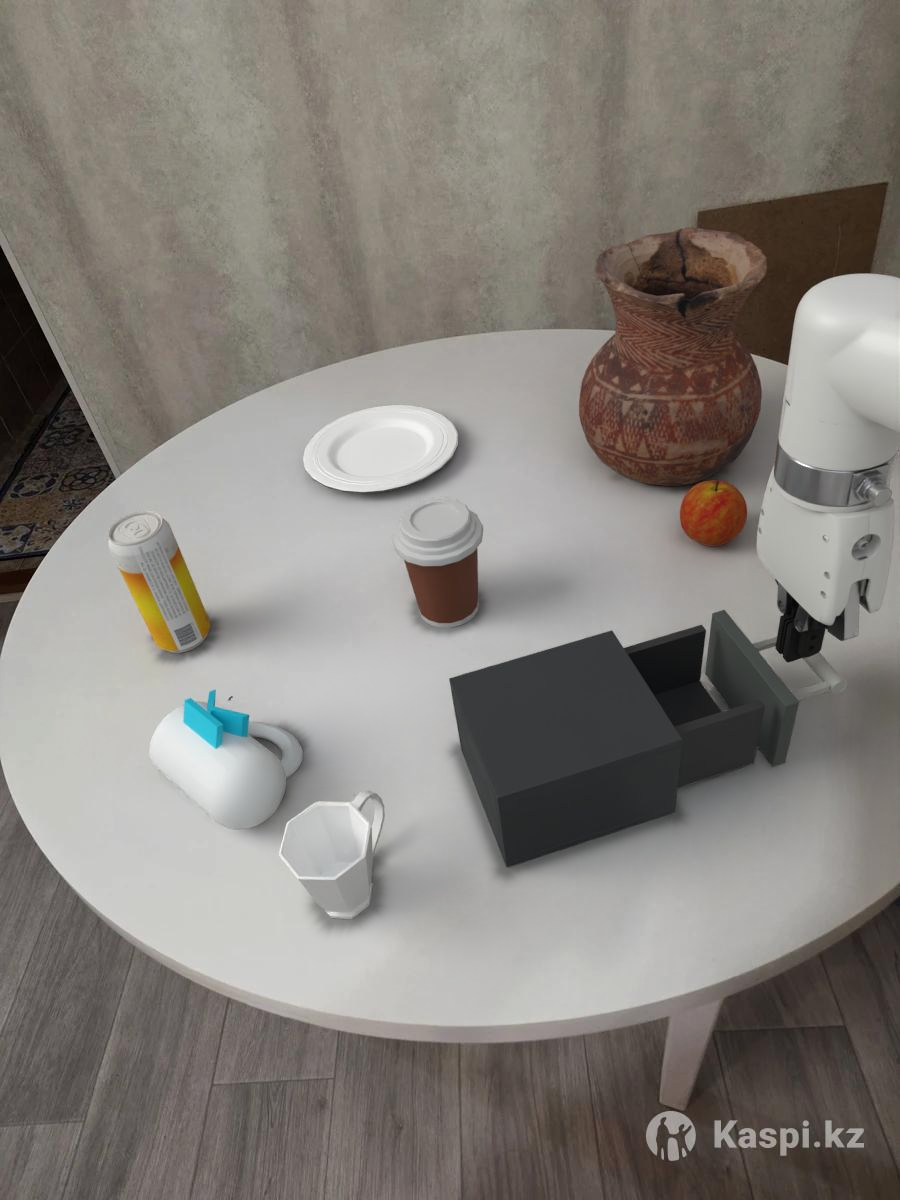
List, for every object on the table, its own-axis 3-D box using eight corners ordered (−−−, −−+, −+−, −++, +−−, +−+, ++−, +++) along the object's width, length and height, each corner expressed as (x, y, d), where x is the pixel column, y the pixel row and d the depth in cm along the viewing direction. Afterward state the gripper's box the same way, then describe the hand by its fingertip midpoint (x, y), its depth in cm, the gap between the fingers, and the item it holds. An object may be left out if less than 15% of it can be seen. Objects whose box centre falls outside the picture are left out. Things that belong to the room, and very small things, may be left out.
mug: (234, 766, 67) (150, 696, 73) (228, 858, 70) (148, 783, 77) (347, 718, 75) (262, 659, 82) (336, 802, 79) (256, 739, 86)
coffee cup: (501, 583, 94) (492, 493, 86) (477, 642, 88) (465, 551, 80) (422, 574, 97) (407, 486, 89) (394, 630, 91) (374, 541, 83)
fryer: (611, 703, 80) (612, 629, 74) (675, 812, 71) (682, 739, 64) (461, 749, 78) (448, 678, 72) (506, 868, 69) (497, 798, 62)
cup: (285, 915, 68) (258, 860, 63) (352, 814, 74) (333, 757, 69) (360, 951, 65) (338, 897, 60) (423, 843, 71) (409, 786, 66)
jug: (759, 509, 98) (792, 296, 82) (573, 507, 103) (569, 304, 86) (746, 408, 114) (771, 213, 97) (585, 410, 118) (583, 223, 102)
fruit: (675, 520, 99) (679, 461, 93) (738, 518, 98) (746, 459, 92) (680, 559, 94) (685, 499, 88) (747, 558, 92) (756, 497, 87)
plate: (446, 503, 106) (444, 490, 105) (286, 503, 110) (282, 490, 109) (470, 414, 121) (468, 402, 120) (328, 417, 125) (325, 405, 124)
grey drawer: (776, 651, 81) (788, 590, 76) (851, 741, 73) (871, 679, 68) (580, 712, 79) (579, 652, 73) (635, 812, 70) (638, 753, 65)
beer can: (196, 609, 97) (150, 500, 87) (222, 635, 93) (177, 525, 83) (147, 636, 94) (94, 528, 84) (171, 665, 91) (118, 555, 80)
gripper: (958, 507, 54) (897, 701, 66) (817, 402, 65) (787, 585, 78) (851, 539, 53) (809, 730, 65) (727, 428, 65) (710, 608, 77)
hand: (797, 651), depth 71 cm, fingers closed
